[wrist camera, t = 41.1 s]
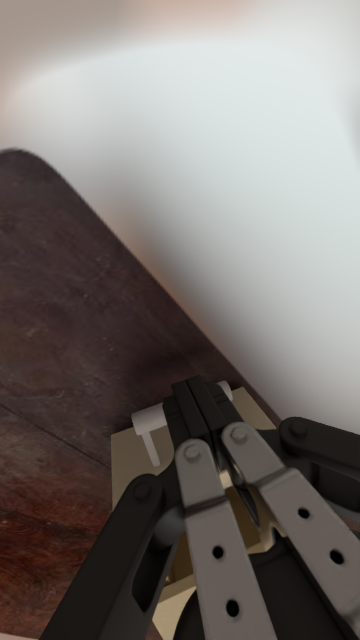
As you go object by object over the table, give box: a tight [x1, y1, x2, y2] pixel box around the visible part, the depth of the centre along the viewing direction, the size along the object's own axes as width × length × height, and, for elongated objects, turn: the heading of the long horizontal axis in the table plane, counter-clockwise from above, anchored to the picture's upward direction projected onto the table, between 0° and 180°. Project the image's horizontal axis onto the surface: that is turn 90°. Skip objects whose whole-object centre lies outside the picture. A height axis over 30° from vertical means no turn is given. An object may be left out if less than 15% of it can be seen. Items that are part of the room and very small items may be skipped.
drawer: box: [111, 381, 277, 588], centre depth 23 cm, size 19×13×7 cm, turn 13°
